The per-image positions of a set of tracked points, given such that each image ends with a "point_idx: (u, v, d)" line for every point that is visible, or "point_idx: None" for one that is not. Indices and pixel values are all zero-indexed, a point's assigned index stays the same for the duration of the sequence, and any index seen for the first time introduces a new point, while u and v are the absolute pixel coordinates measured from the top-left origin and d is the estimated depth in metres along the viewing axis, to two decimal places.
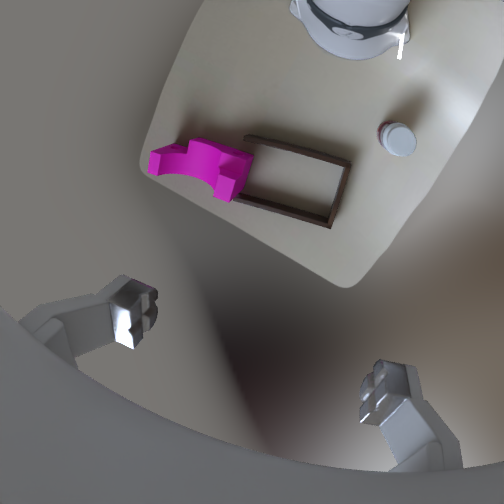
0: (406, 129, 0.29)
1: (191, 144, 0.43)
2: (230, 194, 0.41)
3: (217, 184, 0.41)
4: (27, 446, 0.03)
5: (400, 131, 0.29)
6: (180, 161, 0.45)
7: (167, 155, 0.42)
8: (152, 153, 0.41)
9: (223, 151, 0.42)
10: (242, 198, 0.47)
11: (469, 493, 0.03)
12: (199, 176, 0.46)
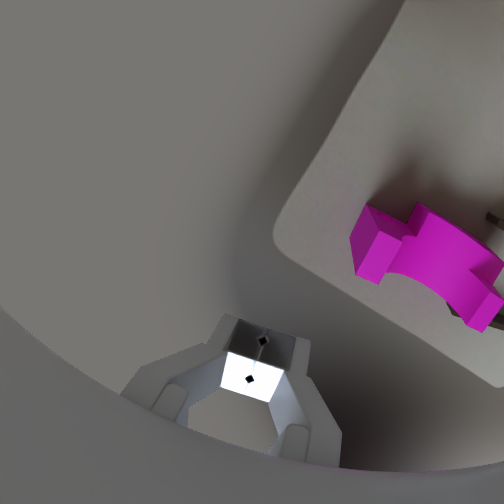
0: None
1: (429, 220, 0.20)
2: (489, 321, 0.18)
3: (481, 307, 0.18)
4: (27, 446, 0.03)
5: None
6: (403, 250, 0.21)
7: None
8: (382, 236, 0.18)
9: (478, 243, 0.19)
10: None
11: (469, 493, 0.03)
12: (420, 278, 0.23)
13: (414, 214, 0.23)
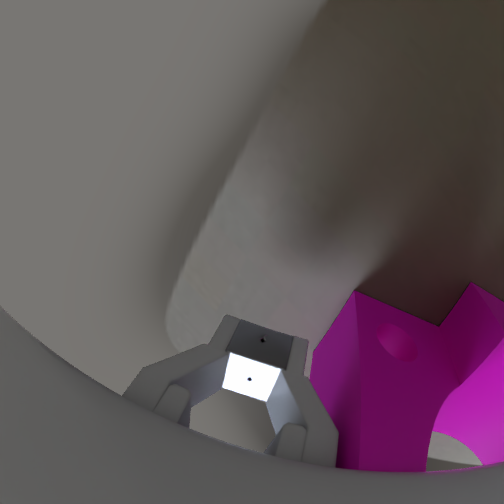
0: None
1: (497, 348, 0.06)
2: None
3: None
4: (27, 446, 0.03)
5: None
6: None
7: None
8: None
9: None
10: None
11: (469, 493, 0.03)
12: (445, 428, 0.09)
13: (460, 312, 0.09)
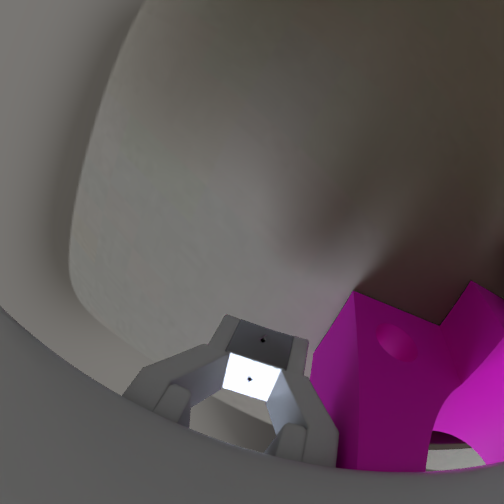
0: None
1: (498, 346, 0.06)
2: None
3: None
4: (27, 446, 0.03)
5: None
6: None
7: None
8: None
9: None
10: None
11: (469, 493, 0.03)
12: (447, 427, 0.09)
13: (461, 311, 0.09)
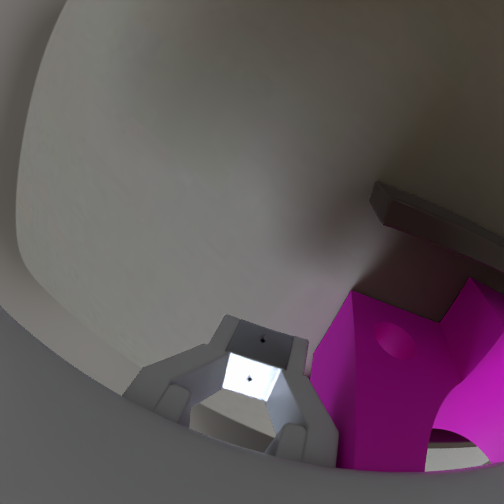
0: None
1: (498, 343, 0.06)
2: None
3: None
4: (27, 446, 0.03)
5: None
6: None
7: None
8: None
9: None
10: None
11: (469, 493, 0.03)
12: (449, 425, 0.09)
13: (460, 308, 0.09)
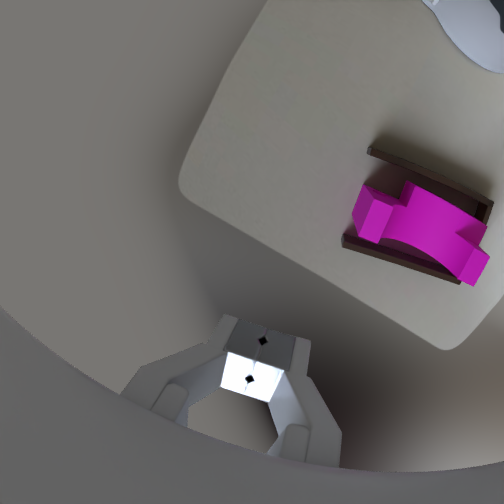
0: None
1: (415, 192, 0.25)
2: (478, 275, 0.22)
3: (468, 262, 0.22)
4: (27, 446, 0.03)
5: None
6: (397, 218, 0.26)
7: (392, 207, 0.24)
8: (376, 202, 0.23)
9: (461, 210, 0.23)
10: (356, 243, 0.30)
11: (469, 493, 0.03)
12: (414, 243, 0.27)
13: (404, 190, 0.28)
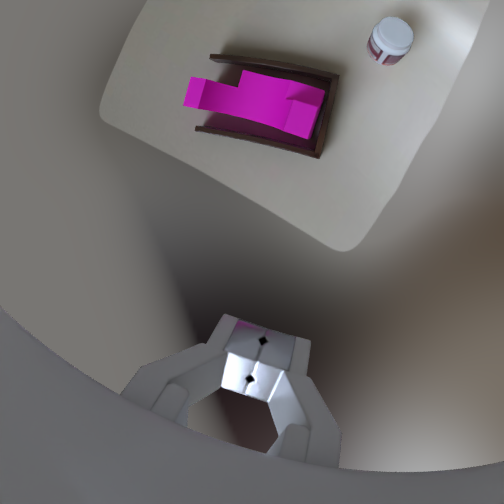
0: (398, 19, 0.18)
1: (245, 75, 0.30)
2: (309, 127, 0.27)
3: (291, 113, 0.27)
4: (27, 446, 0.03)
5: (392, 21, 0.19)
6: (228, 96, 0.31)
7: (213, 83, 0.29)
8: (193, 79, 0.28)
9: (291, 81, 0.28)
10: (206, 127, 0.35)
11: (469, 493, 0.03)
12: (254, 117, 0.32)
13: None
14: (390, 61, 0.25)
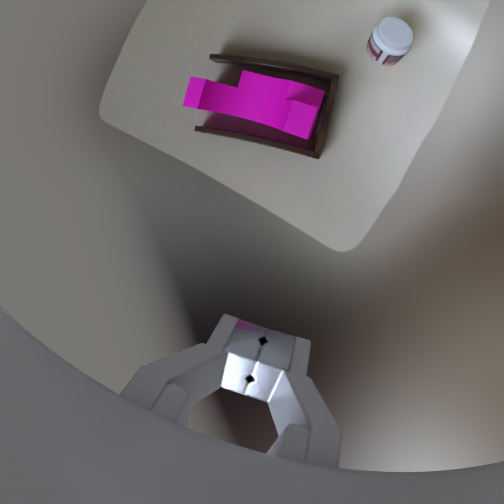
0: (398, 19, 0.18)
1: (245, 75, 0.30)
2: (309, 127, 0.27)
3: (290, 113, 0.27)
4: (27, 446, 0.03)
5: (391, 21, 0.19)
6: (228, 96, 0.31)
7: (213, 83, 0.29)
8: (193, 79, 0.28)
9: (291, 81, 0.28)
10: (205, 127, 0.35)
11: (469, 493, 0.03)
12: (253, 117, 0.32)
13: None
14: (390, 61, 0.25)
